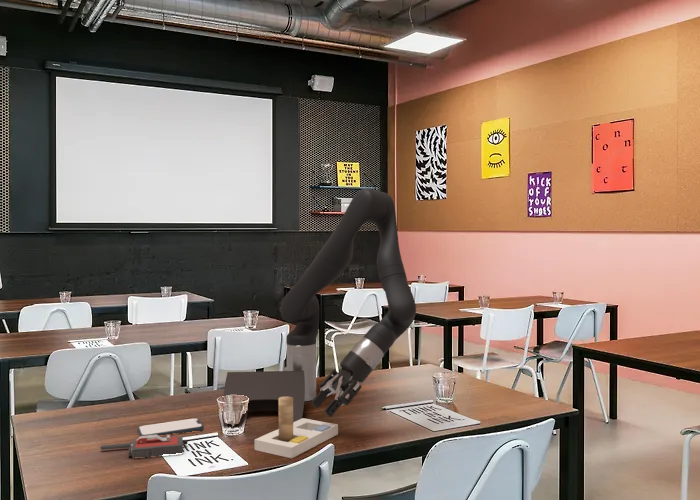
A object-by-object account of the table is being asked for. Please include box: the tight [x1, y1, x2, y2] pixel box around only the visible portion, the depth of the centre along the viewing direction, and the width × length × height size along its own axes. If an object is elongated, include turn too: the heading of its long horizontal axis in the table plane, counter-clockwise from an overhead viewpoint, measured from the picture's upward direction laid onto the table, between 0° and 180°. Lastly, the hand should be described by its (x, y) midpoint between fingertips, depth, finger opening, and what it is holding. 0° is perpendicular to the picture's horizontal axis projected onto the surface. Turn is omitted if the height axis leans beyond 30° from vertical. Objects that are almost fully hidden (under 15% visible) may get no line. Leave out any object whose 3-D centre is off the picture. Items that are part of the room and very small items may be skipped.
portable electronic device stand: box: [222, 370, 305, 422], centre depth 177 cm, size 23×23×9 cm
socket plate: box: [254, 417, 339, 459], centre depth 154 cm, size 20×11×3 cm, turn 149°
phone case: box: [136, 418, 205, 437], centre depth 164 cm, size 9×2×16 cm
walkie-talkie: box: [100, 435, 189, 459], centre depth 147 cm, size 9×4×20 cm
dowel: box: [278, 396, 293, 442], centre depth 150 cm, size 4×4×12 cm
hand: (320, 409), depth 154 cm, fingers open, 8 cm apart
